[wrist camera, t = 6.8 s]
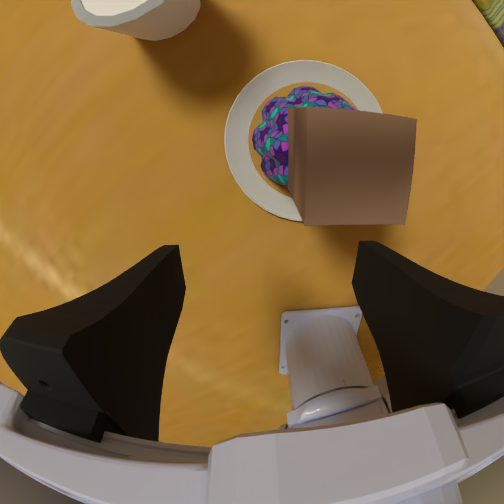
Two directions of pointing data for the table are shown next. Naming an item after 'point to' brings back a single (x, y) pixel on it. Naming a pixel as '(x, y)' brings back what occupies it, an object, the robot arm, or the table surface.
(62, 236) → the table surface
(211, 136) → the table surface
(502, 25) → the dish towel
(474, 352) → the robot arm
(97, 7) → the white tapered cup
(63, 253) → the table surface
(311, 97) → the pudding
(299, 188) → the walnut block
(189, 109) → the table surface
